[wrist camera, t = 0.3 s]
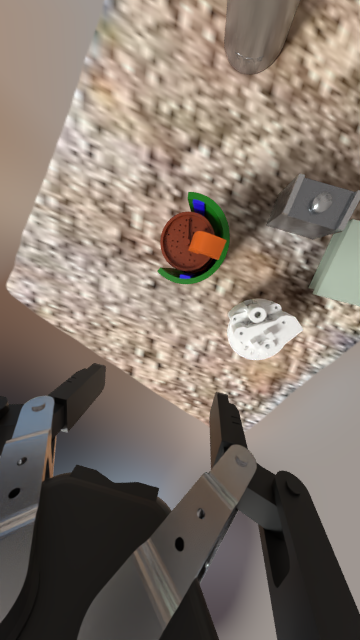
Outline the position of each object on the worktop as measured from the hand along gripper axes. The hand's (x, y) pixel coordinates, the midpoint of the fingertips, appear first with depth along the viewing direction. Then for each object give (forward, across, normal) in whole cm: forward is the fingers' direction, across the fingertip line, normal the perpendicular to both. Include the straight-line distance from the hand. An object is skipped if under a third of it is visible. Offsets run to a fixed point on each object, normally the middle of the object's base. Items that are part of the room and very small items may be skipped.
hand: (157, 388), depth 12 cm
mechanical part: (+28, -14, +1) cm, 31 cm away
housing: (+28, -16, -20) cm, 38 cm away
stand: (+28, -28, -13) cm, 42 cm away
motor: (+28, 0, -11) cm, 30 cm away
